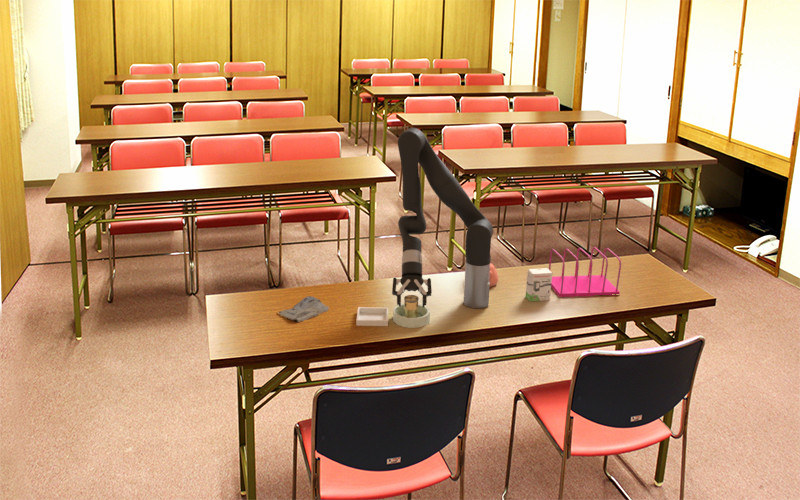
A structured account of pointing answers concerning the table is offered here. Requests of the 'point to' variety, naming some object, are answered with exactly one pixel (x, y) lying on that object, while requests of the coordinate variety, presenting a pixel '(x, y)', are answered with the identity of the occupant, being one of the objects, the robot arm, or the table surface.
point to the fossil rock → (305, 309)
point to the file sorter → (583, 279)
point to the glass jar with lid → (411, 306)
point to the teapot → (493, 275)
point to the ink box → (538, 284)
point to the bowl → (411, 322)
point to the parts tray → (372, 316)
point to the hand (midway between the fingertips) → (411, 306)
